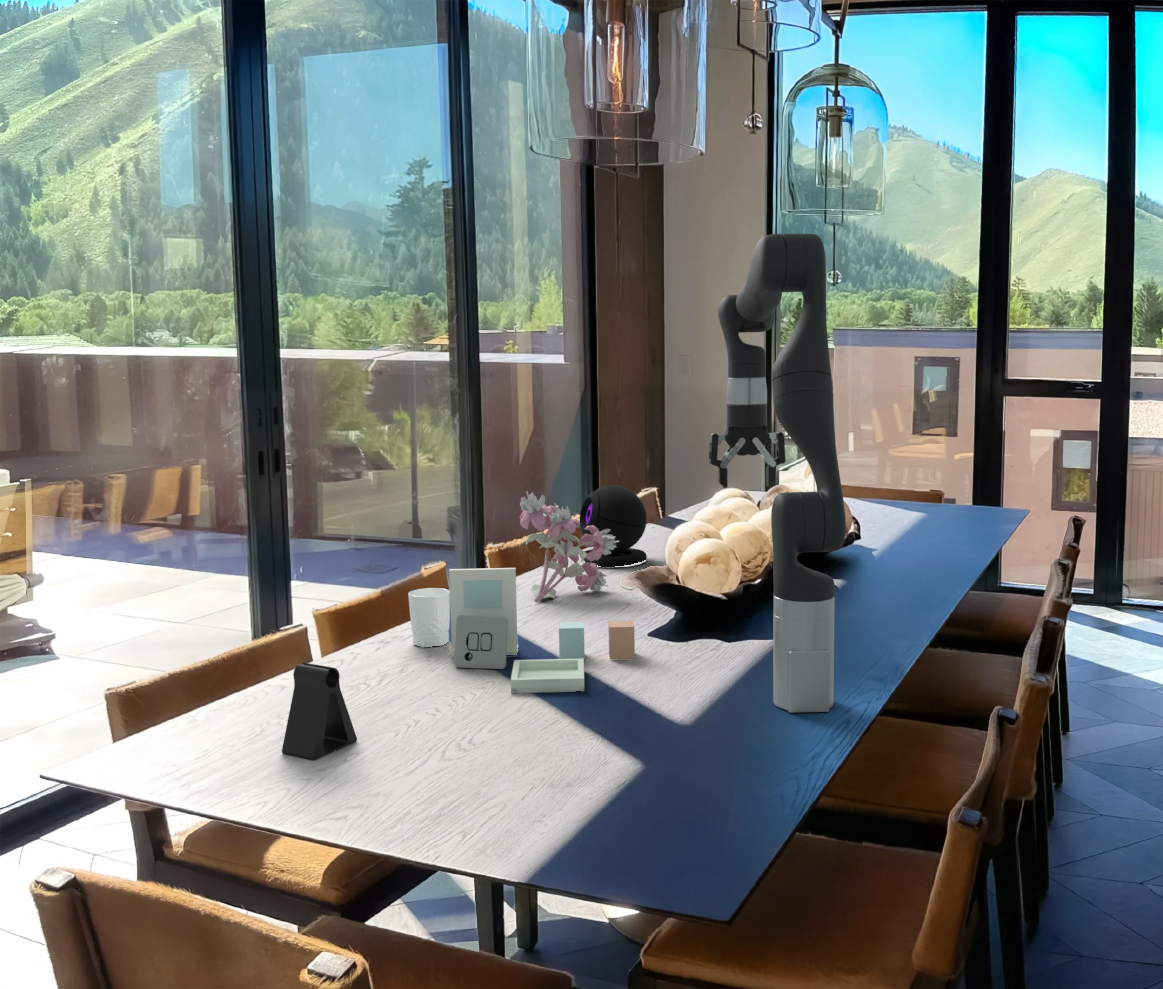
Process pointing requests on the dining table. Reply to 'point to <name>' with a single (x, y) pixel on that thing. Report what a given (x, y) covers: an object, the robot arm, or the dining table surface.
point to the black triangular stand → (317, 714)
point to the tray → (547, 675)
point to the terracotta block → (621, 640)
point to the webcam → (616, 523)
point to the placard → (485, 598)
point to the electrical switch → (481, 641)
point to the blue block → (571, 640)
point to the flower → (564, 546)
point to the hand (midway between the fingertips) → (747, 487)
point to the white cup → (430, 616)
